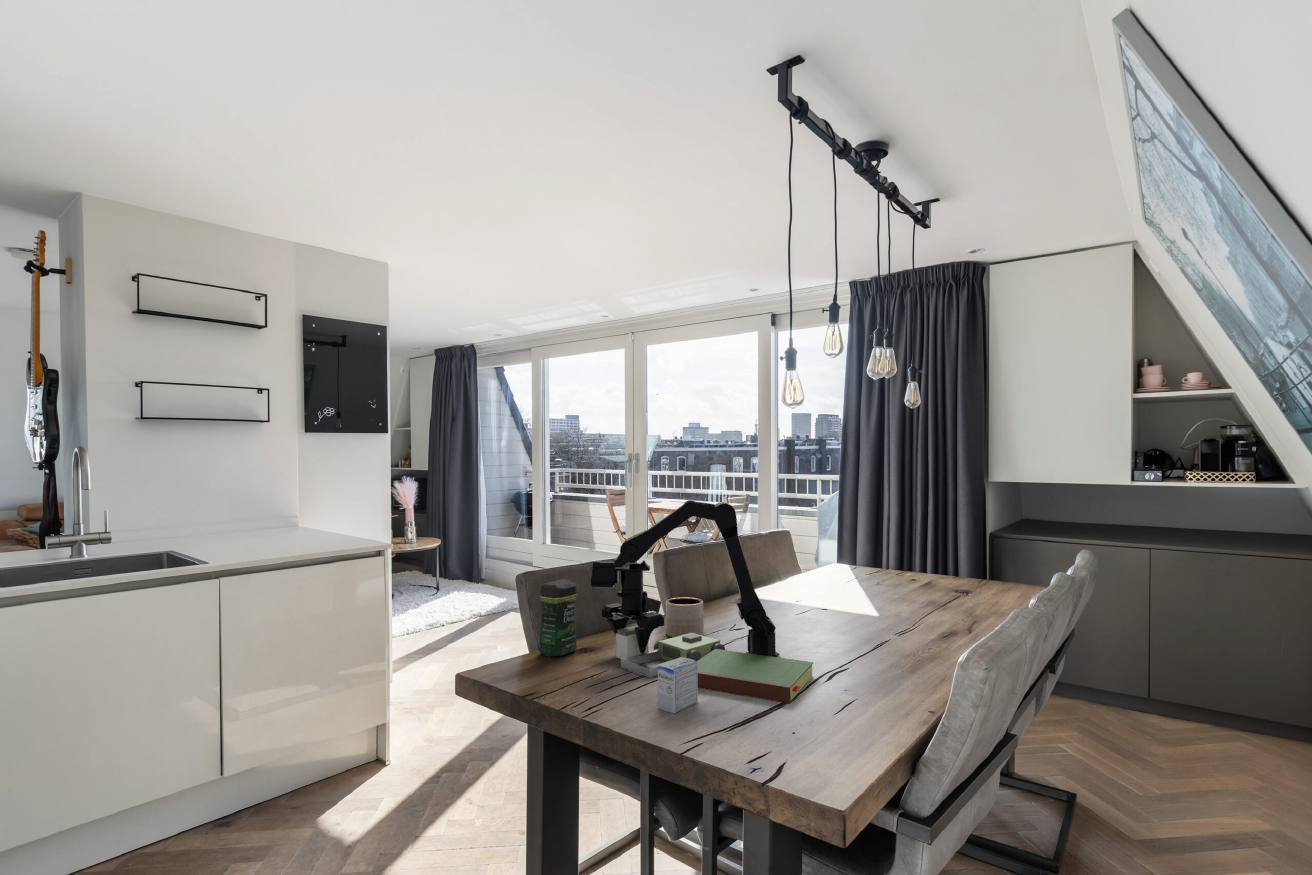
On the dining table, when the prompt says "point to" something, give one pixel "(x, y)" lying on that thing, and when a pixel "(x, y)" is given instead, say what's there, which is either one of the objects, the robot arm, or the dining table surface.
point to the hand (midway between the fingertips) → (632, 649)
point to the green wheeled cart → (687, 646)
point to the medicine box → (677, 684)
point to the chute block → (627, 643)
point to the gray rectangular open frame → (636, 664)
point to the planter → (684, 616)
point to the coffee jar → (558, 618)
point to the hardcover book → (753, 675)
